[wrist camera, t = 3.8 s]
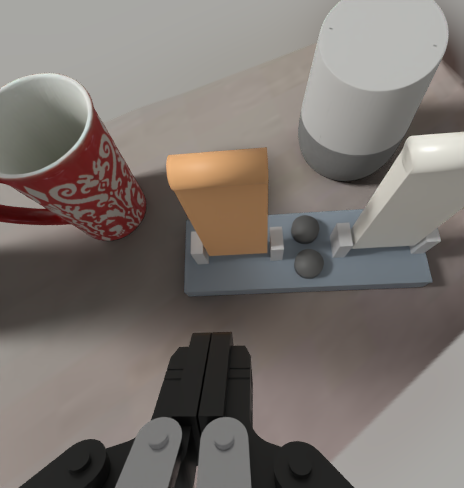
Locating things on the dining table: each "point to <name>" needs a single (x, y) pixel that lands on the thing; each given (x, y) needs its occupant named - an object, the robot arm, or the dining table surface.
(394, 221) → the cream paddle
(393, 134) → the smart speaker
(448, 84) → the dining table surface
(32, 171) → the mug
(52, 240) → the dining table surface
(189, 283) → the paddle holder
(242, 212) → the orange paddle
